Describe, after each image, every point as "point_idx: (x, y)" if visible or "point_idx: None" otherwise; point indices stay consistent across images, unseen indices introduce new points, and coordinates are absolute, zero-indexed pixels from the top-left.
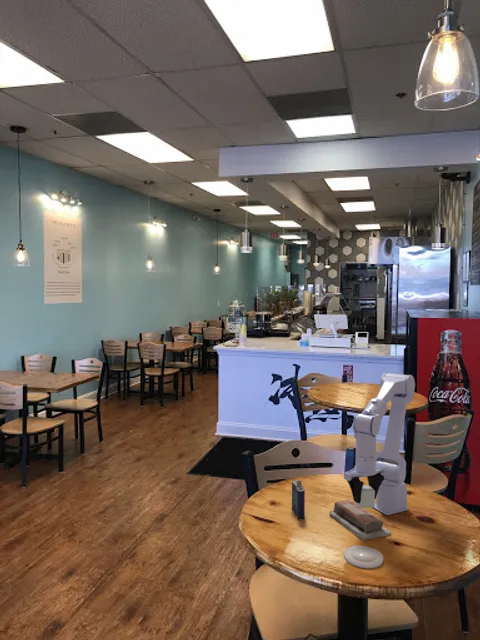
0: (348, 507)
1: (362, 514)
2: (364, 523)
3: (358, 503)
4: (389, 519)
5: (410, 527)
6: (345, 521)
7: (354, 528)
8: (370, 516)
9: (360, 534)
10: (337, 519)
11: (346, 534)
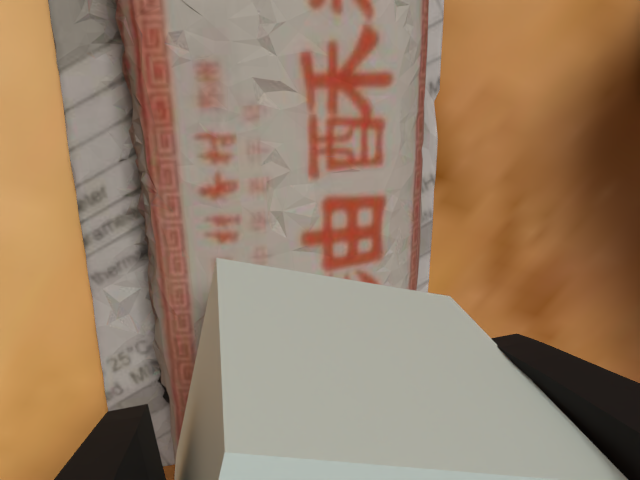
0: (202, 51)
1: None
2: (175, 456)
3: (187, 418)
4: (604, 175)
5: (634, 349)
6: (112, 133)
7: (124, 311)
8: None
9: None
10: (53, 23)
11: (20, 318)
